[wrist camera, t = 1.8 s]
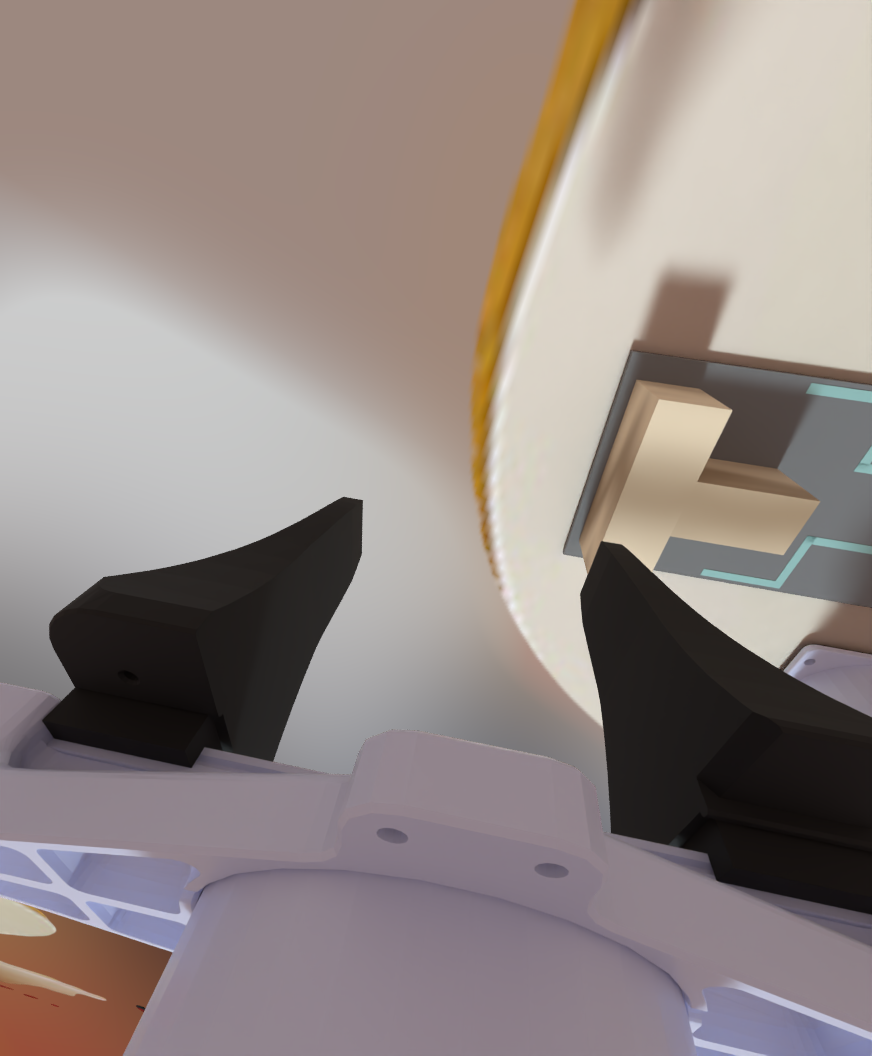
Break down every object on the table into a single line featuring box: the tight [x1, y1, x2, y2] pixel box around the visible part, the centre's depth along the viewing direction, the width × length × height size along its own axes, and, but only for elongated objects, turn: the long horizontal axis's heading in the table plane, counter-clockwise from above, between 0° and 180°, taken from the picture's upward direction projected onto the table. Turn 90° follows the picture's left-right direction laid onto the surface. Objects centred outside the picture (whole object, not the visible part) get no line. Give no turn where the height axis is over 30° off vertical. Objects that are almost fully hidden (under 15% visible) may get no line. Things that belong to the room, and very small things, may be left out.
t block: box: [579, 380, 821, 574], centre depth 18 cm, size 8×7×3 cm
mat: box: [563, 350, 872, 608], centre depth 19 cm, size 10×16×1 cm, turn 84°
